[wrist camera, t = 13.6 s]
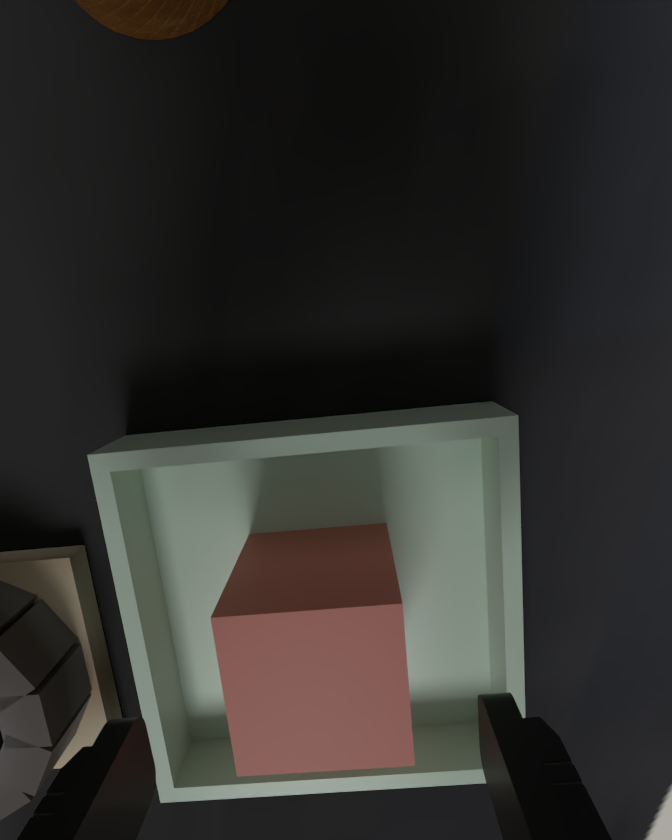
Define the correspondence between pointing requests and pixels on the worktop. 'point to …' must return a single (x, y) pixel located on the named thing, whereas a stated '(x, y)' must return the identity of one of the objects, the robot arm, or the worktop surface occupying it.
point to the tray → (311, 509)
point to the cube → (315, 653)
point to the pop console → (49, 668)
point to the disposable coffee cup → (152, 16)
